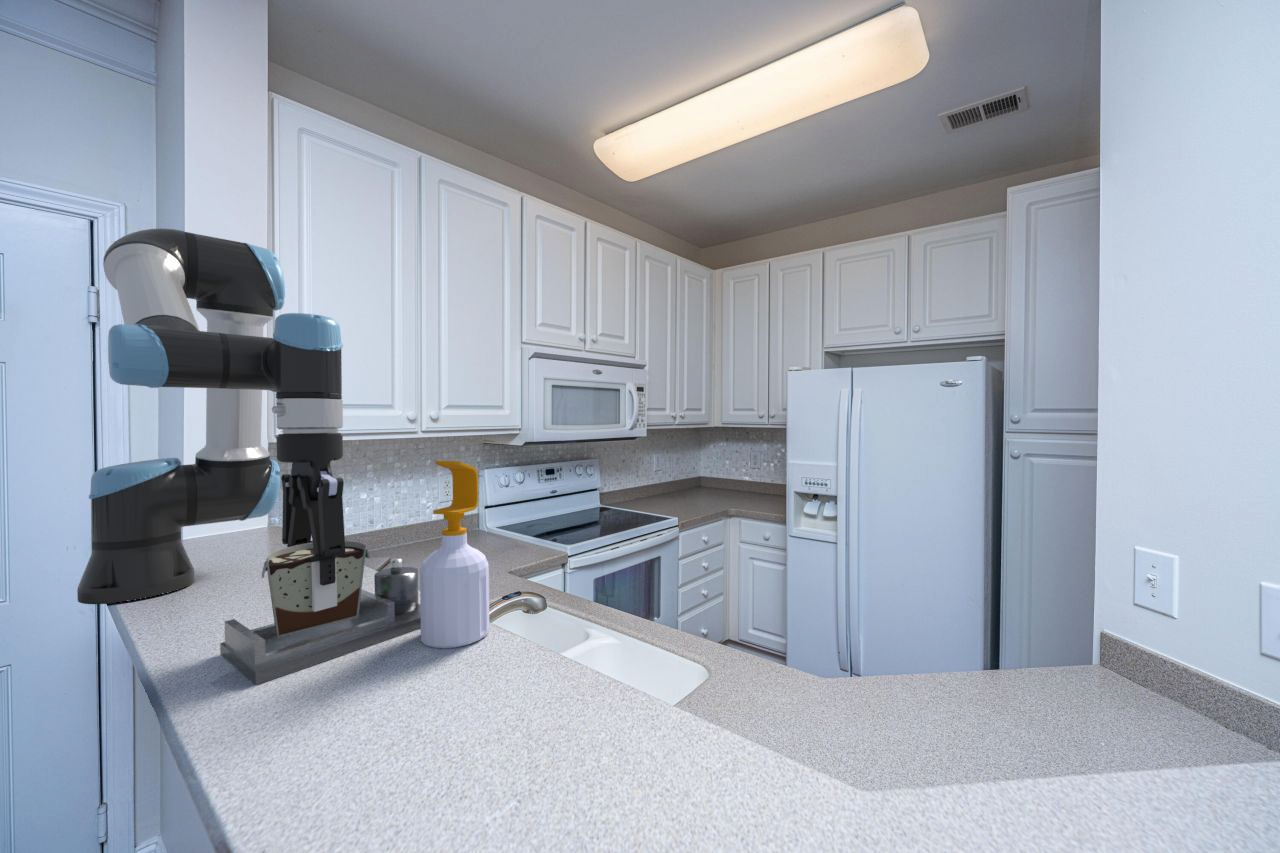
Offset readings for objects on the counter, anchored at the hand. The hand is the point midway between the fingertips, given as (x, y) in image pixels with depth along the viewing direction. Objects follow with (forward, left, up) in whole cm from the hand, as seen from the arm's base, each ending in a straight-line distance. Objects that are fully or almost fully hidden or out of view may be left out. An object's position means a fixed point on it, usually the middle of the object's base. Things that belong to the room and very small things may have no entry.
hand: (313, 602), depth 70 cm
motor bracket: (0, +3, -6) cm, 6 cm away
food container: (-1, 0, -3) cm, 3 cm away
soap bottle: (+13, +13, -6) cm, 19 cm away
